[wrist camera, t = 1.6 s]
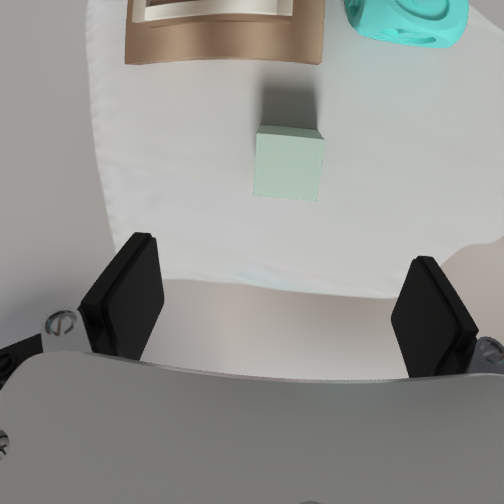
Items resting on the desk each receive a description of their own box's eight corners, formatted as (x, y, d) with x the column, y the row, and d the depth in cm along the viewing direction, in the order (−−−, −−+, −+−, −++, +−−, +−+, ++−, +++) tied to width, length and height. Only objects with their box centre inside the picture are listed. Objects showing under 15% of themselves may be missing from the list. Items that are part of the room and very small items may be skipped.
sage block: (317, 129, 25) (324, 139, 21) (311, 181, 28) (316, 201, 24) (261, 124, 25) (256, 133, 21) (258, 176, 28) (253, 195, 24)
